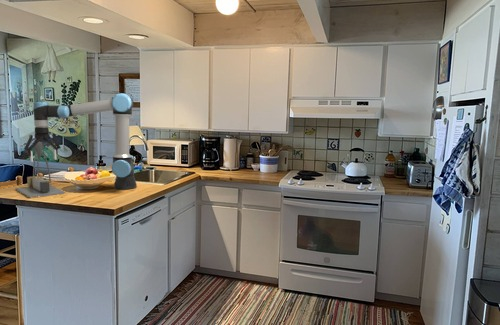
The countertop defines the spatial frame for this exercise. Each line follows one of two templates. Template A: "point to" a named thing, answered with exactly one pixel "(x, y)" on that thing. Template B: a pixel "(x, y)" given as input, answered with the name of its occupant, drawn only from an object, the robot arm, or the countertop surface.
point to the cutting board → (35, 193)
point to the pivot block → (29, 181)
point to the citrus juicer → (39, 152)
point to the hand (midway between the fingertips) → (43, 160)
